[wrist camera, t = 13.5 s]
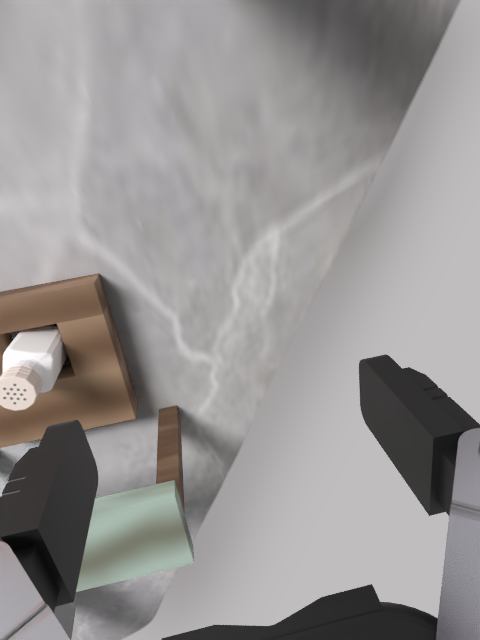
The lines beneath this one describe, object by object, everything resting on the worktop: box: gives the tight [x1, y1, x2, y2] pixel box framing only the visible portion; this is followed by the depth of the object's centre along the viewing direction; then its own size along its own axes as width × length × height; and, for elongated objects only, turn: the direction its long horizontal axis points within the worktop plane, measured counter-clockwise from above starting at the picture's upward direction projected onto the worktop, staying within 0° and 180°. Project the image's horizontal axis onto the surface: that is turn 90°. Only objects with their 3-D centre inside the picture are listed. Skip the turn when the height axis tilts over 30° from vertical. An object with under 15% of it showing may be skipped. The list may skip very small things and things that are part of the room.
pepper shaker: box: [0, 325, 66, 411], centre depth 37 cm, size 4×4×10 cm
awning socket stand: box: [0, 274, 194, 592], centre depth 35 cm, size 19×23×18 cm
